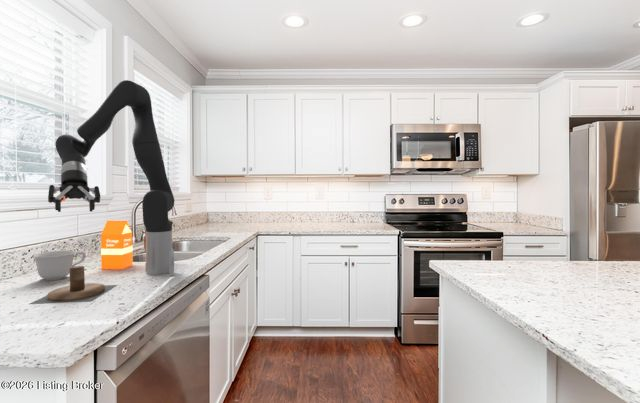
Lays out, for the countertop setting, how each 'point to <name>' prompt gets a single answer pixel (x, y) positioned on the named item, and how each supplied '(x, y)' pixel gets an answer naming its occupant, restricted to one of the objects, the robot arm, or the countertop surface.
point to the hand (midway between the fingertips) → (75, 210)
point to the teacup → (56, 263)
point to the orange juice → (116, 245)
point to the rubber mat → (45, 300)
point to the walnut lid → (76, 287)
